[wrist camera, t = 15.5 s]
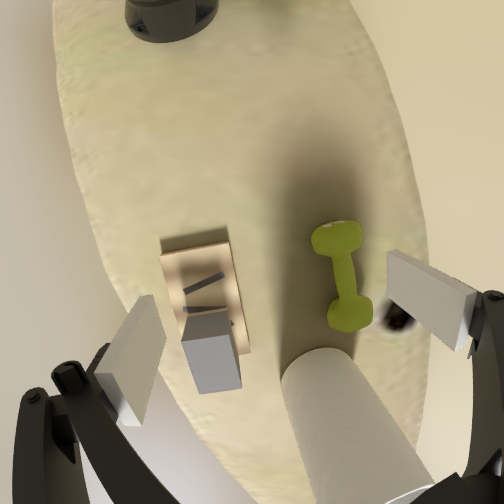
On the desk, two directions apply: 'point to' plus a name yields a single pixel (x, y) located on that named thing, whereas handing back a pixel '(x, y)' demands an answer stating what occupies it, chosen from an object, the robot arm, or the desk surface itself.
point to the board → (205, 286)
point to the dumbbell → (343, 274)
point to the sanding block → (212, 351)
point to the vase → (348, 434)
